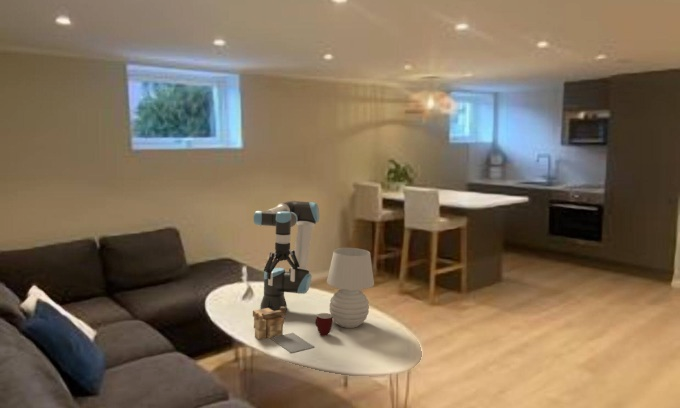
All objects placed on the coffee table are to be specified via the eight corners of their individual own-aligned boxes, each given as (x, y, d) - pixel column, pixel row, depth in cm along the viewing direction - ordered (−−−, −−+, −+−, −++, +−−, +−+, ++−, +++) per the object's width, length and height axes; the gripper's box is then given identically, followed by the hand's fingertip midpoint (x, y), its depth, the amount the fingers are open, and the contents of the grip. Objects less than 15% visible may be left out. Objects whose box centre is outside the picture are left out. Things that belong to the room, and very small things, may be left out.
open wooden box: (267, 324, 272) (268, 302, 270) (282, 334, 259) (283, 312, 257) (244, 329, 264) (245, 306, 263) (259, 340, 251) (259, 316, 250)
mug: (309, 333, 263) (309, 314, 261) (319, 329, 269) (320, 310, 267) (324, 339, 256) (325, 319, 255) (335, 334, 262) (335, 315, 261)
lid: (268, 313, 272) (268, 307, 271) (284, 323, 258) (284, 317, 258) (252, 316, 266) (252, 310, 266) (268, 326, 253) (268, 320, 252)
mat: (293, 333, 262) (293, 332, 261) (314, 347, 246) (314, 346, 245) (270, 338, 254) (270, 337, 254) (290, 353, 238) (290, 352, 238)
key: (282, 313, 262) (283, 306, 261) (285, 315, 260) (285, 307, 259) (261, 317, 255) (261, 310, 254) (264, 319, 253) (264, 311, 252)
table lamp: (378, 321, 284) (382, 250, 278) (361, 336, 261) (365, 260, 255) (337, 313, 294) (340, 244, 289) (316, 327, 271) (319, 253, 266)
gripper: (298, 238, 269) (297, 277, 272) (257, 243, 253) (256, 285, 256) (307, 241, 264) (305, 281, 266) (265, 246, 247) (264, 288, 250)
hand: (281, 283), depth 261 cm, fingers open, 13 cm apart
